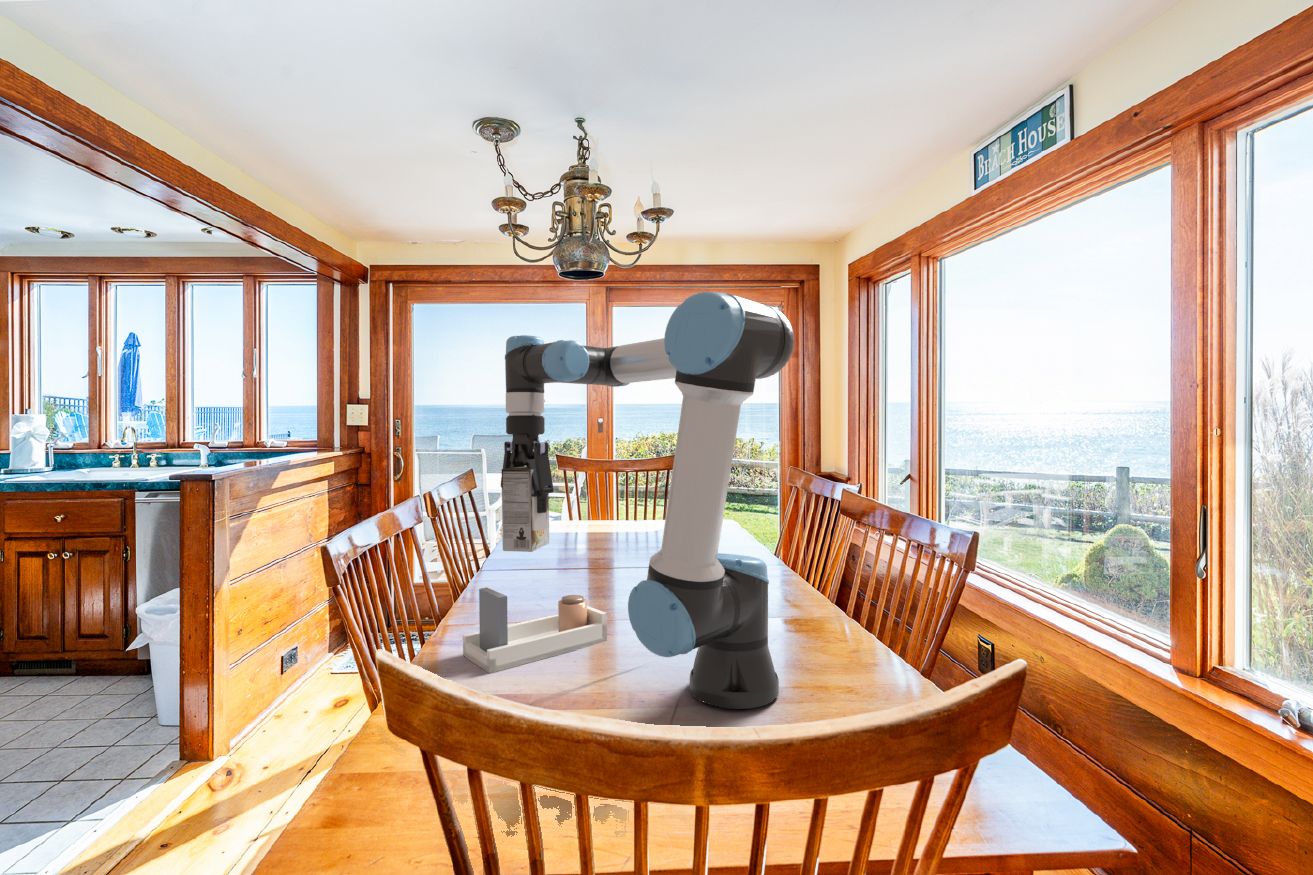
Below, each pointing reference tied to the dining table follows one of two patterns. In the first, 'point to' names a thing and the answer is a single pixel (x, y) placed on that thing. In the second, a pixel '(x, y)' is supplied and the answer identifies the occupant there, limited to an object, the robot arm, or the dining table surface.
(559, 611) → the jar
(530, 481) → the coffee box
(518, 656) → the white rectangular tray
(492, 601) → the block
